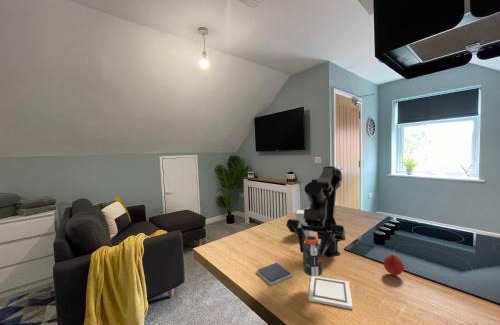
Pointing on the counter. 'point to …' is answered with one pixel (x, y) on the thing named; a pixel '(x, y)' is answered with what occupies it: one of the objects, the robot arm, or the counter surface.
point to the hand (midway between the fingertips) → (311, 254)
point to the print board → (330, 292)
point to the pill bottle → (312, 256)
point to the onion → (393, 265)
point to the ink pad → (274, 273)
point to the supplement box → (302, 221)
